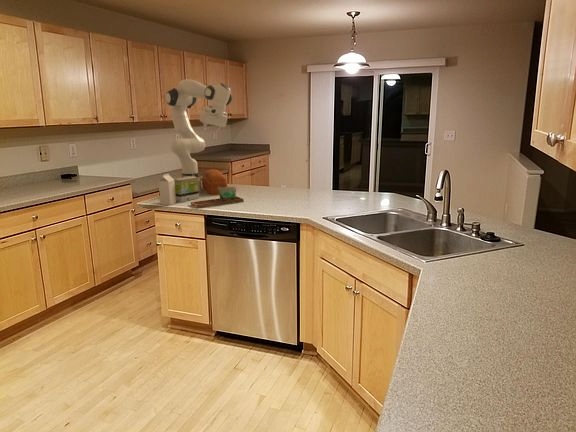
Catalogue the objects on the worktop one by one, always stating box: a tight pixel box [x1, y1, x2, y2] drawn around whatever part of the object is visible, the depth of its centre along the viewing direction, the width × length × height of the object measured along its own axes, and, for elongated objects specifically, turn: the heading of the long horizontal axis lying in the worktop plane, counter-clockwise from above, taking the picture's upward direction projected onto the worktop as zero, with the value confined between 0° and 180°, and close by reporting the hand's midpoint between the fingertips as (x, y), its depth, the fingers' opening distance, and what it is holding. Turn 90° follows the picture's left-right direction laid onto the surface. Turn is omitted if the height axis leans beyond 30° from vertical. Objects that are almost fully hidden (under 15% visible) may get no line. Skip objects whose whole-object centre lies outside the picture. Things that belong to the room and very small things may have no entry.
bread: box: [201, 168, 228, 196], centre depth 312 cm, size 14×33×16 cm, turn 21°
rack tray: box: [190, 195, 244, 209], centre depth 271 cm, size 11×31×2 cm, turn 123°
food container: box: [218, 185, 238, 202], centre depth 274 cm, size 12×6×10 cm, turn 105°
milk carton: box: [158, 173, 177, 206], centre depth 270 cm, size 7×7×19 cm
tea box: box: [172, 176, 200, 203], centre depth 283 cm, size 15×10×15 cm
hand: (209, 131), depth 270 cm, fingers open, 8 cm apart
